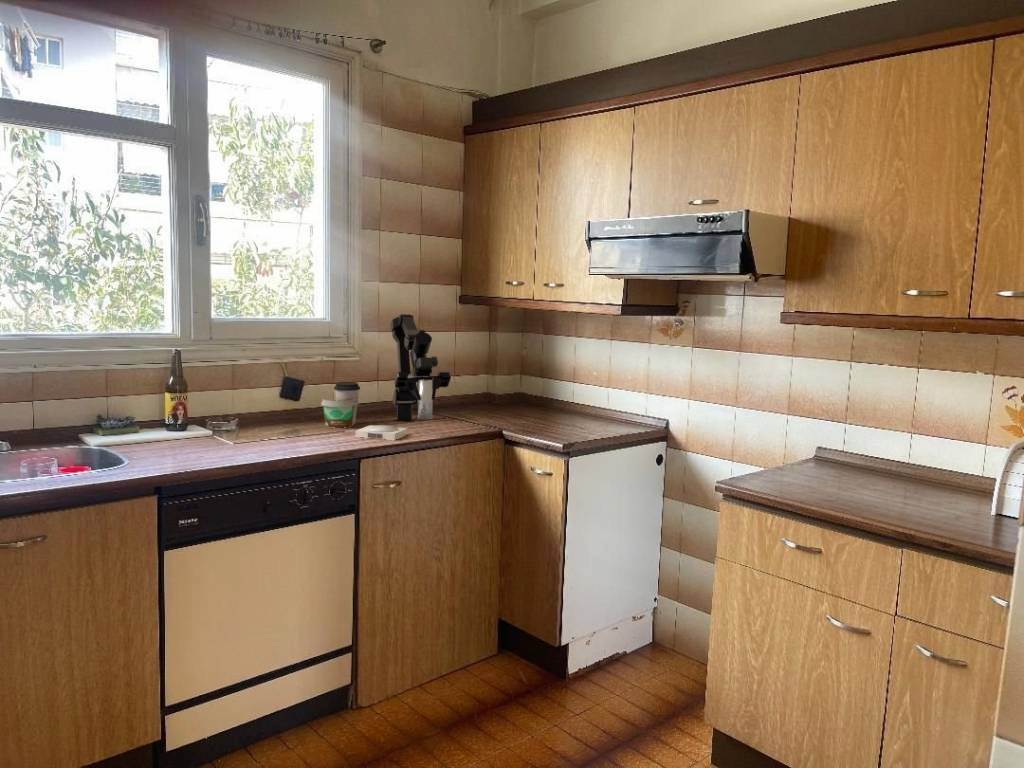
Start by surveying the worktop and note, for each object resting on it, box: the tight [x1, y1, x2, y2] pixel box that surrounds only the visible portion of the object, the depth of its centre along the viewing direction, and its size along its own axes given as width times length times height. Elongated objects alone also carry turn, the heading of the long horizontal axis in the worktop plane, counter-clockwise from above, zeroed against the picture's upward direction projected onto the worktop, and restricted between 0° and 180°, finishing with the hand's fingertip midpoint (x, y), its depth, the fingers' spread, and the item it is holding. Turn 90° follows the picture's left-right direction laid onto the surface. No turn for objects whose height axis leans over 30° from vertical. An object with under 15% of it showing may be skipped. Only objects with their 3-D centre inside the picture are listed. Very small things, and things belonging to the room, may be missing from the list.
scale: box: [355, 424, 408, 441], centre depth 253 cm, size 12×14×3 cm
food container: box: [321, 398, 356, 429], centre depth 266 cm, size 12×6×10 cm, turn 105°
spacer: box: [417, 379, 434, 420], centre depth 253 cm, size 5×5×13 cm
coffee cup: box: [333, 381, 361, 425], centre depth 273 cm, size 9×9×15 cm
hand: (426, 399), depth 251 cm, fingers closed on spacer, 5 cm apart
